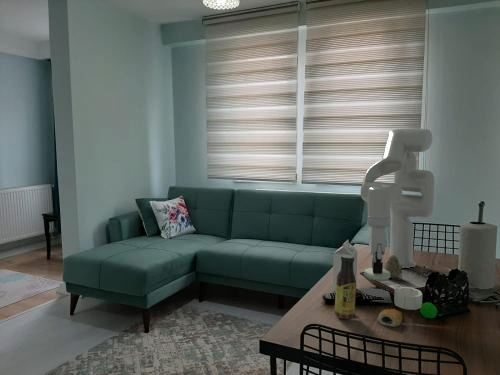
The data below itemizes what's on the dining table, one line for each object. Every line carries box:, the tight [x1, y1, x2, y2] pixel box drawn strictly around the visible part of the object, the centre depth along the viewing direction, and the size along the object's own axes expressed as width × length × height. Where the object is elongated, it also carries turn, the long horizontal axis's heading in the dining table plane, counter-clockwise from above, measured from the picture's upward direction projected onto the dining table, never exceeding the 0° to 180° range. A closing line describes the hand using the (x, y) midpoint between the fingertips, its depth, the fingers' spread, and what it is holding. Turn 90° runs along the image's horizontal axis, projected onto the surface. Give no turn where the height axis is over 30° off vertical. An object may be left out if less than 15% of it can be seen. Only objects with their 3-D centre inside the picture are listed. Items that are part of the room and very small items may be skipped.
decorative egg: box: [384, 255, 401, 280], centre depth 162 cm, size 6×6×10 cm
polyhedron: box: [419, 302, 438, 319], centre depth 129 cm, size 5×5×5 cm
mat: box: [359, 287, 393, 304], centre depth 146 cm, size 12×10×1 cm
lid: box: [363, 255, 390, 281], centre depth 146 cm, size 9×9×7 cm
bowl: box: [393, 286, 423, 311], centre depth 138 cm, size 8×8×5 cm
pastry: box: [376, 308, 403, 328], centre depth 128 cm, size 9×7×4 cm
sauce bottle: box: [334, 255, 357, 320], centre depth 130 cm, size 6×6×20 cm
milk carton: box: [332, 239, 358, 293], centre depth 150 cm, size 7×7×19 cm
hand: (377, 270), depth 146 cm, fingers closed on lid, 3 cm apart
